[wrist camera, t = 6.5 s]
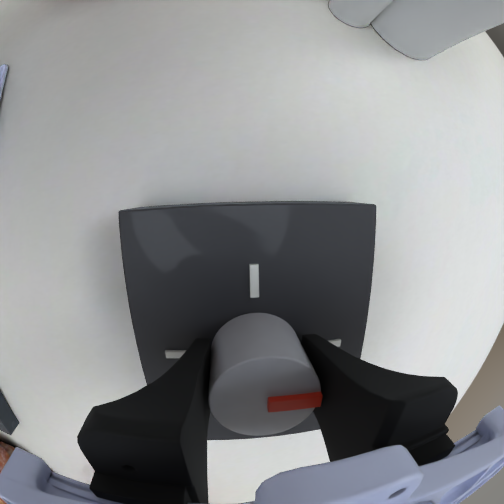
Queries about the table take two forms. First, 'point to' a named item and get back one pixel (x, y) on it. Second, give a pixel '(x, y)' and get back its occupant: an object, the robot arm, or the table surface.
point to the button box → (6, 417)
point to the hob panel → (246, 275)
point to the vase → (421, 21)
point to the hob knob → (260, 376)
